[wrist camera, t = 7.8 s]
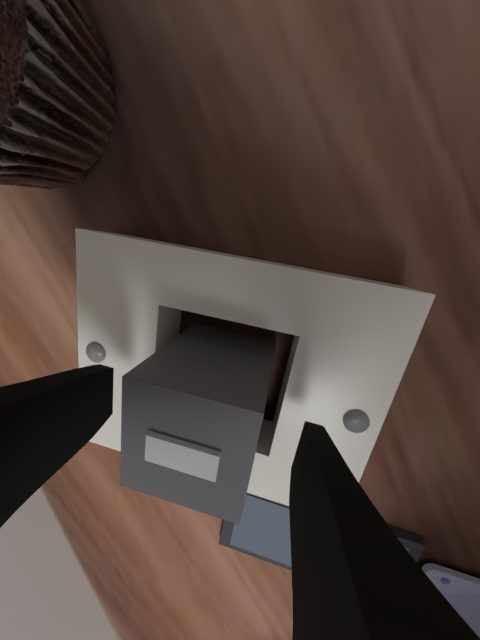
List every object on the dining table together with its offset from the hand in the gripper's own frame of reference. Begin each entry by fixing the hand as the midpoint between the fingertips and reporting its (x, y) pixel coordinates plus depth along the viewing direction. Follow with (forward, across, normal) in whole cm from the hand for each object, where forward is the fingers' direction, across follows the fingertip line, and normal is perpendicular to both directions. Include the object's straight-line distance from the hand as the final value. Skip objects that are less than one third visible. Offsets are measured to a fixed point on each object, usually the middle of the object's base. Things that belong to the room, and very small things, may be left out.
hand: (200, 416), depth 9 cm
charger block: (+5, 0, 0) cm, 5 cm away
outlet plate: (+5, 0, 0) cm, 5 cm away
